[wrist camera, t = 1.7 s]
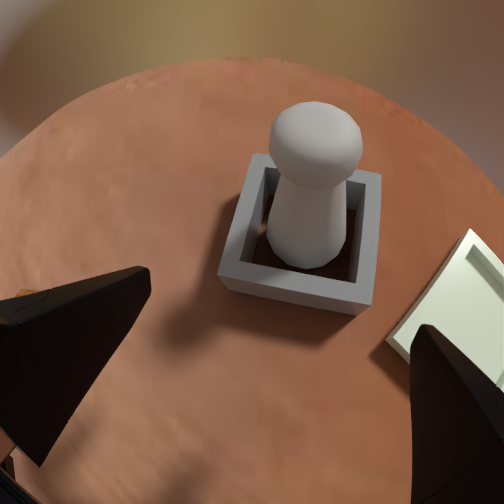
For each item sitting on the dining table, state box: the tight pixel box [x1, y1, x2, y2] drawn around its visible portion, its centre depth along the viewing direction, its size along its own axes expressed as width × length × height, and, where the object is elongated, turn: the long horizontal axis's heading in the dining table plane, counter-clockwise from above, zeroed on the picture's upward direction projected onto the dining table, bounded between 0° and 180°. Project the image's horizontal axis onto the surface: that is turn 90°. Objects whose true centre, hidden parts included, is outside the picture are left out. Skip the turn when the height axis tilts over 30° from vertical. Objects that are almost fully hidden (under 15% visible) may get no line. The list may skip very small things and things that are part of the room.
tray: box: [385, 229, 504, 392], centre depth 18 cm, size 12×12×2 cm
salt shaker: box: [266, 101, 362, 269], centre depth 18 cm, size 6×6×13 cm
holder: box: [217, 153, 381, 316], centre depth 22 cm, size 10×10×4 cm
